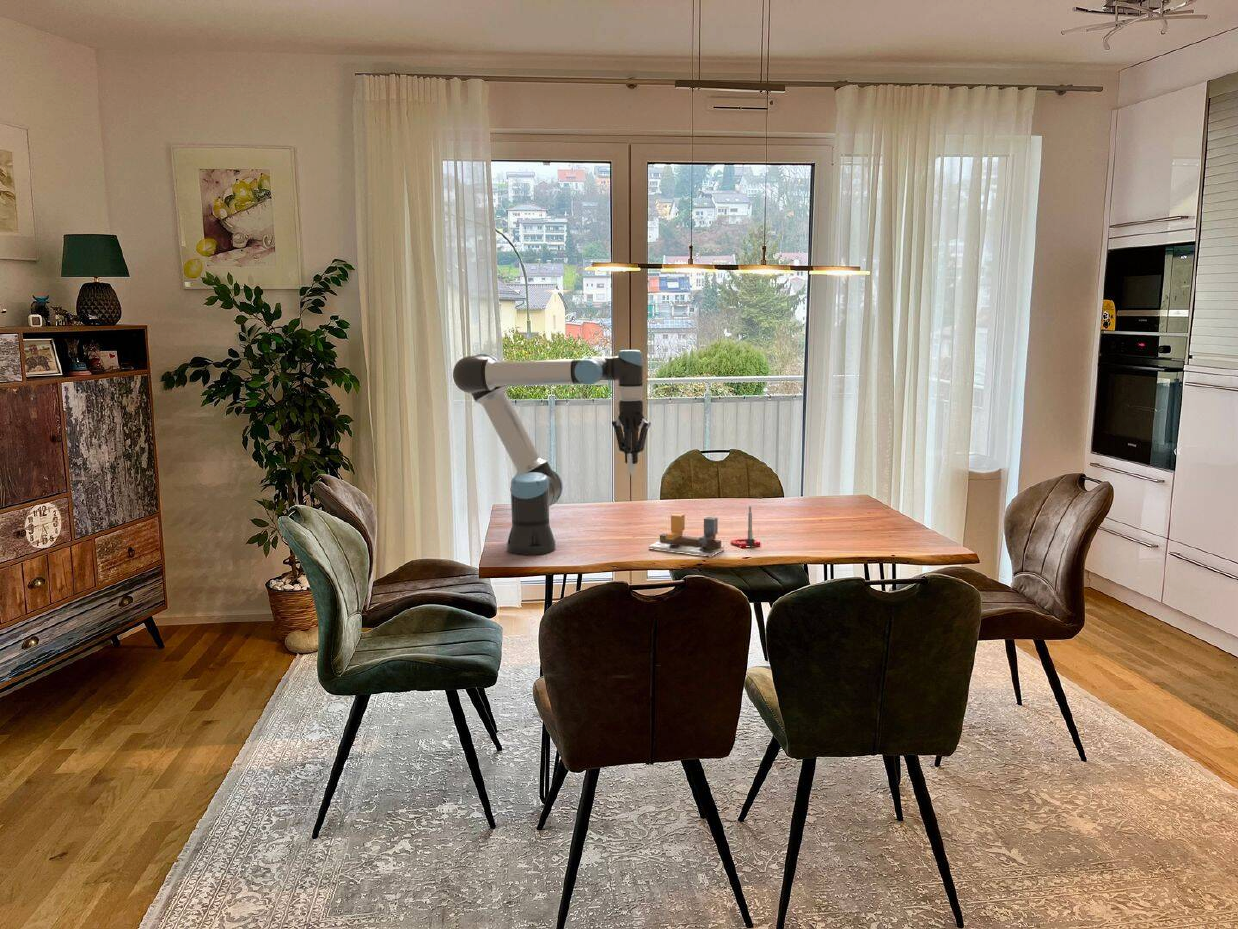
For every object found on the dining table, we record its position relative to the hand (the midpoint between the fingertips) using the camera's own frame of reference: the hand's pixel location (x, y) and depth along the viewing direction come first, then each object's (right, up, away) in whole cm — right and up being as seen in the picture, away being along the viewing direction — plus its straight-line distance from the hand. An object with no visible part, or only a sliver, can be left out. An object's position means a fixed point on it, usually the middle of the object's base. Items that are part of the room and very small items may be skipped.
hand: (631, 473), depth 296 cm
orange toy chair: (+14, -21, -4) cm, 26 cm away
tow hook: (+36, -23, 0) cm, 42 cm away
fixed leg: (+23, -22, -10) cm, 34 cm away
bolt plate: (+17, -24, -7) cm, 30 cm away
